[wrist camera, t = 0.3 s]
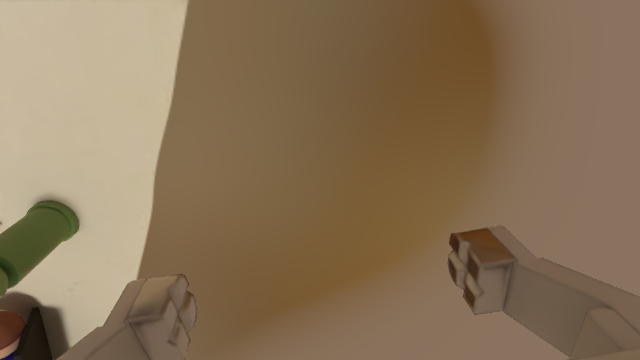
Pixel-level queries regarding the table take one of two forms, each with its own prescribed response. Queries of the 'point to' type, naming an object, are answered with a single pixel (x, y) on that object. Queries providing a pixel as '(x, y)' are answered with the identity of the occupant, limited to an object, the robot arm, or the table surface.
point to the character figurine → (23, 337)
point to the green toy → (33, 240)
